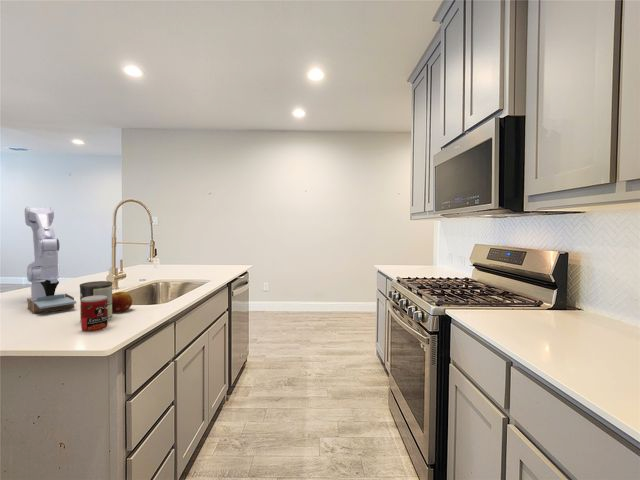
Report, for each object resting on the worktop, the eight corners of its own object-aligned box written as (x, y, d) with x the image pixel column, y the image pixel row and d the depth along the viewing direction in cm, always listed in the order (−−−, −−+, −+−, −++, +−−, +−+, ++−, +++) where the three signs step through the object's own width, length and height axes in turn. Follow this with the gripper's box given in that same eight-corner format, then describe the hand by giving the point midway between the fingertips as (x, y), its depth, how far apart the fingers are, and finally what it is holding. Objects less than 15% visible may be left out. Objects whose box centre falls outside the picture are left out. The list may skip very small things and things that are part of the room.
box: (27, 308, 133) (27, 298, 132) (65, 302, 143) (65, 293, 143) (34, 314, 125) (34, 303, 125) (74, 307, 136) (73, 297, 136)
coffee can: (76, 324, 114) (75, 286, 113) (84, 317, 123) (83, 281, 122) (110, 321, 118) (109, 285, 117) (114, 314, 127) (114, 280, 127)
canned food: (87, 333, 105) (86, 301, 105) (77, 328, 109) (76, 298, 109) (112, 327, 112) (111, 297, 111) (101, 323, 116) (101, 294, 115)
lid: (32, 303, 130) (32, 297, 130) (67, 298, 139) (67, 293, 139) (40, 308, 122) (39, 302, 122) (76, 303, 132) (76, 297, 132)
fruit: (103, 315, 126) (102, 295, 126) (108, 309, 134) (108, 291, 134) (130, 313, 130) (130, 294, 129) (134, 307, 138) (134, 289, 138)
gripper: (33, 265, 135) (33, 296, 136) (41, 269, 127) (42, 301, 127) (53, 264, 141) (54, 293, 142) (63, 267, 132) (63, 298, 133)
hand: (50, 297), depth 135 cm, fingers closed
